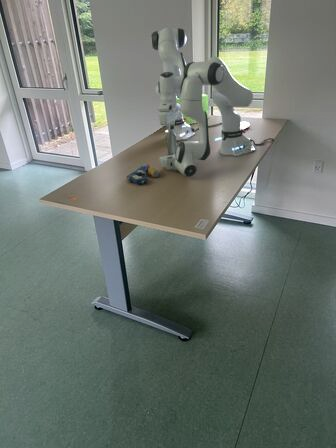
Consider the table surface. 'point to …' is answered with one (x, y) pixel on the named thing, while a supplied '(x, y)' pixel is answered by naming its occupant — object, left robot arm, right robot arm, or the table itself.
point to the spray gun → (142, 174)
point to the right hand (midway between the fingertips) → (172, 154)
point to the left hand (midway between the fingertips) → (170, 129)
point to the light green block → (204, 105)
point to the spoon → (244, 125)
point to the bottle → (171, 142)
